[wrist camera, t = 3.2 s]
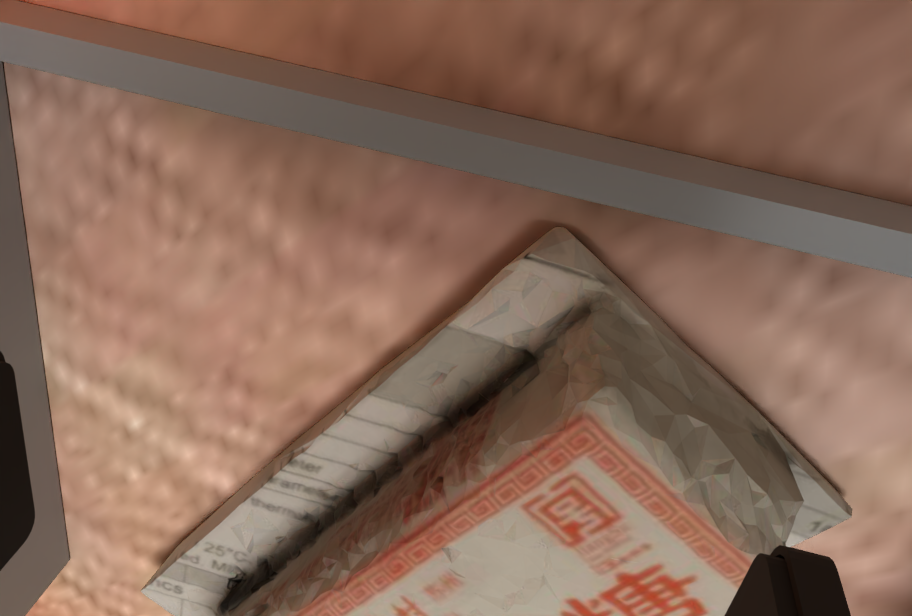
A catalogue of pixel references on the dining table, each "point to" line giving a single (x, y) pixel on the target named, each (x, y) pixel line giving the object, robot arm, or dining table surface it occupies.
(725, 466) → the packaged product
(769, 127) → the dining table surface
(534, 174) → the grey twin-plate frame
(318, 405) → the dining table surface
